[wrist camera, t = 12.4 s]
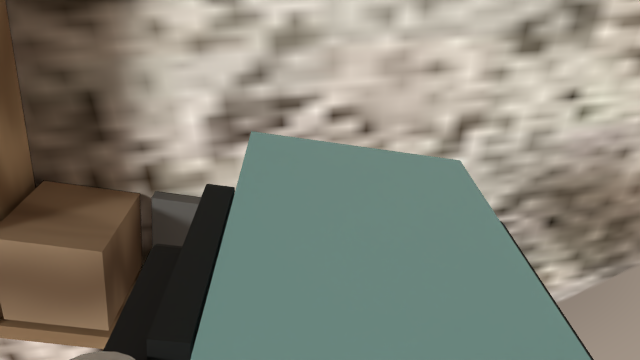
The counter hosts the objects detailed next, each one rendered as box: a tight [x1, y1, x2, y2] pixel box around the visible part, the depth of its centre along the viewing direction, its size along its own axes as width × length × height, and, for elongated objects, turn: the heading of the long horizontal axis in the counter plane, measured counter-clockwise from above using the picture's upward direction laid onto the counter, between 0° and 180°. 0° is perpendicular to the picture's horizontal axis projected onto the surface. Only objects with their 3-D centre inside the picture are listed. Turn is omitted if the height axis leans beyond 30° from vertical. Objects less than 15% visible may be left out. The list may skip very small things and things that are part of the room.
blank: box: [190, 131, 591, 360], centre depth 8 cm, size 4×4×7 cm
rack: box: [0, 0, 142, 349], centre depth 17 cm, size 26×7×4 cm, turn 171°
